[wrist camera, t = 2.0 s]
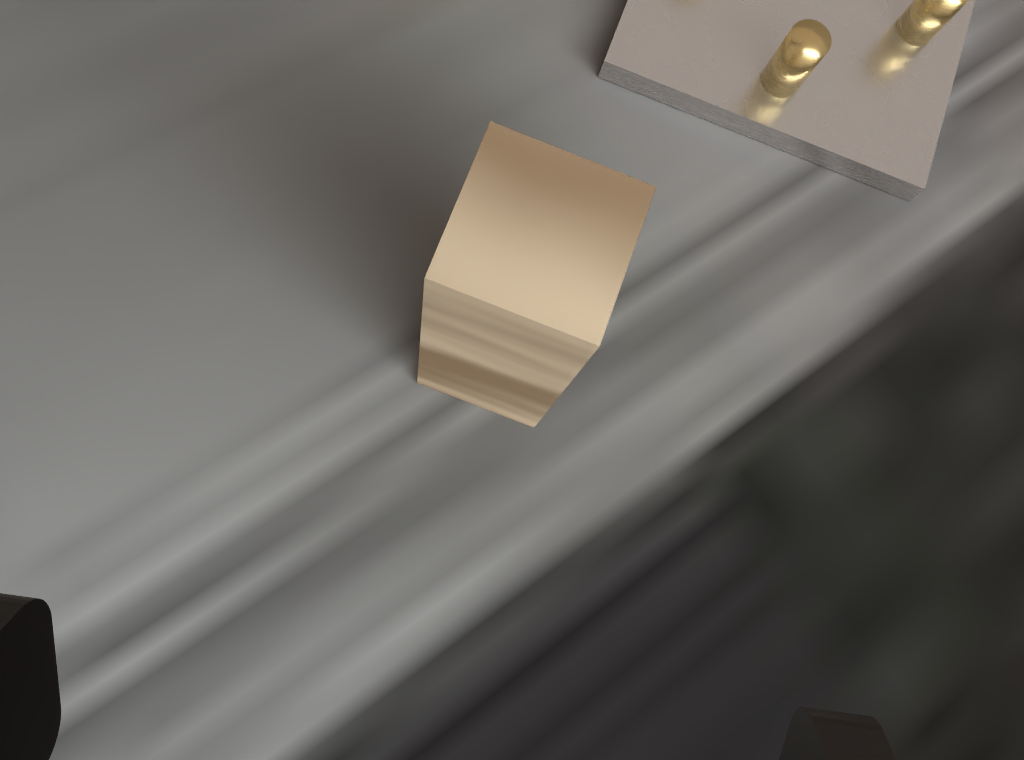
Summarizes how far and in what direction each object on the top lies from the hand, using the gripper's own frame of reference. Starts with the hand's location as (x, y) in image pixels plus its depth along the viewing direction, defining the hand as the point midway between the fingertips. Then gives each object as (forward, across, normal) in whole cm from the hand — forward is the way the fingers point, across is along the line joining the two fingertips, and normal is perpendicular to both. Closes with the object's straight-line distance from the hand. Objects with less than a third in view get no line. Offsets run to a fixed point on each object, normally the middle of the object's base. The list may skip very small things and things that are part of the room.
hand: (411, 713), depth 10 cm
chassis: (+30, -9, -8) cm, 32 cm away
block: (+20, 0, +3) cm, 20 cm away
